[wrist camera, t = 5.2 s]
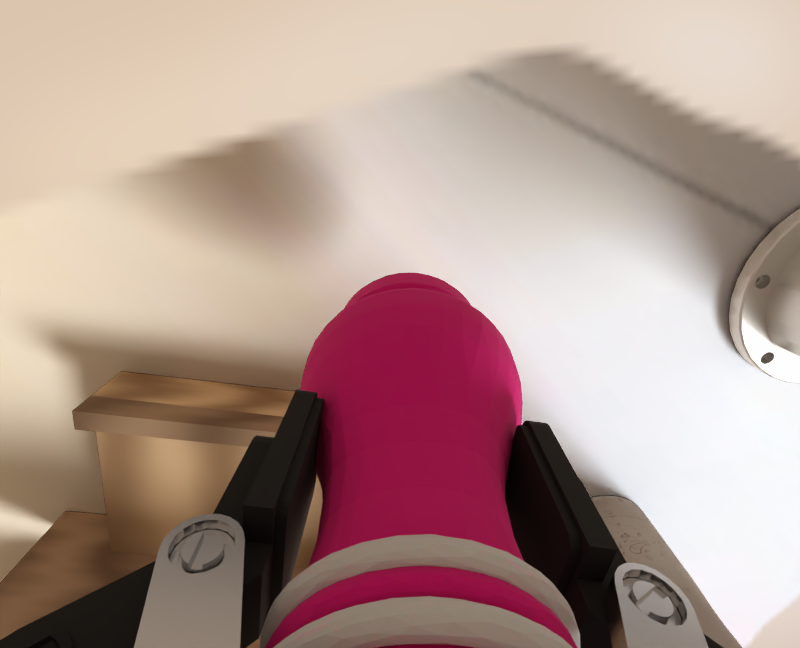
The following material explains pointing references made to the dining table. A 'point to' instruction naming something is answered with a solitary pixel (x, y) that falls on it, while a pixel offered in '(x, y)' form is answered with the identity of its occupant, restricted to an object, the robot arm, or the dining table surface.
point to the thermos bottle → (658, 559)
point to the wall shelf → (146, 484)
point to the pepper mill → (416, 485)
